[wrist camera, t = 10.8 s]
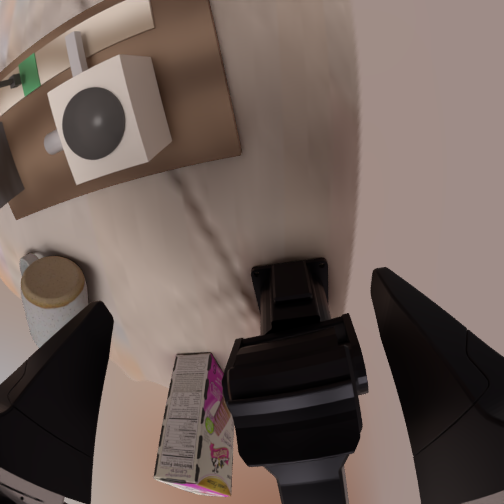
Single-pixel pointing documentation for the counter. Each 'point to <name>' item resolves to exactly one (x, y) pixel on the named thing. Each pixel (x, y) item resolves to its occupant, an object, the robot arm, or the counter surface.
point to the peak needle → (12, 81)
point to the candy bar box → (196, 429)
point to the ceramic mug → (51, 294)
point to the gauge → (106, 114)
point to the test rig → (97, 51)
